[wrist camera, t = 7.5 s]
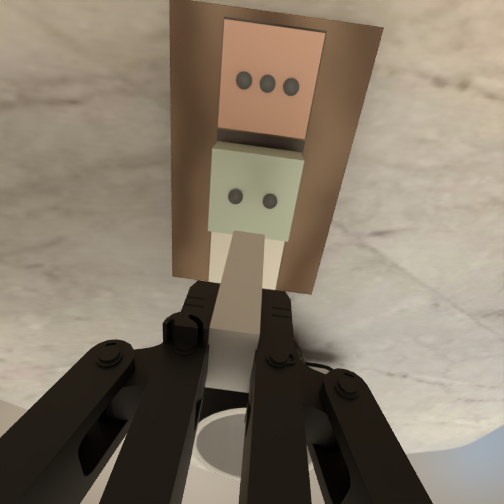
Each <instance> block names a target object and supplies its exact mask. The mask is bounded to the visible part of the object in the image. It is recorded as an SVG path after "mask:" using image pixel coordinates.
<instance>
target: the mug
mask: <svg viewBox="0 0 504 504" xmlns="http://www.w3.org/2000/svg"><path fill="white" fill-rule="evenodd" d="M294 349H295V353H296V354H297V356H298V358H299V359H300V360H301V361H302V362H303V363H304V364H305V365H307V366H308V367H310V368H312V369H314V370H317V371H319V372H321V373H324V374H327V373H328V372H329V371H330V370H333V369H332V368H330V367H329V366H326V365H321V364H316V363H309V362H305V361H304V359H303V356H302V353H301V351H300V349H299V347H298V346H297V344H296V342H295V340H294ZM248 398H249V393H246V392H238V391H231V390H223V389H216V388H208V387H204V392H203V403H202V408H201V412H200V417H199V422H198V427H197V431H196V436H195V441H194V446H193V450H192V453H193V455H194V456H195V458H196V459H197V460H198V461H199V462H200V463H201V464H203V465H204V466H205V467H206V468H208V469H209V470H211V471H213V472H215V473H217V474H219V475H221V476H225V477H227V478H230V479H234V480H238V481H241V470H242V457H243V445H244V433H245V423H244V419H245V414H246V409H247V404H248ZM307 455H308V467H309V471H310V470H312V469H313V468H314V467H313V463H312V460H311V457H310V454H309V451H308V447H307Z"/></svg>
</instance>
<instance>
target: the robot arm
mask: <svg viewBox="0 0 504 504" xmlns="http://www.w3.org/2000/svg"><path fill="white" fill-rule="evenodd" d="M264 243H265V235H264V234H257V233H250V232H242V231H235V230H234V232H233V236H232V240H231V244H230V248H229V252H228V256H227V260H226V264H225V268H224V272H223V276H222V280H221V283H214V282H207V281H199V280H198V281H197V282H196V283H195V284H193V285H192V286H191V287H190V289H189V292H188V294H187V298H186V299H185V302H184V305H183V307H182V310H181V312H178V313H174V314H172V315H171V316H169V317H167V318H166V320H165V321H164V322H163V343H162V344H159V345H157V346H154V347H150V348H144V349H136V350H134V349H133V348H132V346H131V344H129V343H127V342H125V341H122V340H116V339H115V340H107V341H104V342H102V343H99V344H97V345H96V346H94V347H93V348H91V349H90V350H89V351H88V352H87V353H86V354H85V355H84V356H83V357H82V358H81V359H80V360H79V361H78V362H77V363H76V364H75V365H74V366H73V367H72V368H71V369H70V370H69V371H68V372H67V373H66V374H65V375H64V376H63V377H62V378H60V379H59V380H58V381H57V382H56V383H55V384H54V385H53V386H52V387H51V388H50V389H49V390H48V391H47V392H46V393H45V394H44V395H43V396H42V397H41V398H40V399H39V400H38V401H37V402H36V403H35V404H34V405H33V406H32V407H31V408H30V409H29V410H28V411H27V412H26V413H25V414H24V415H23V416H22V417H21V418H20V419H19V420H18V421H17V422H16V423H15V424H14V425H13V426H12V427H11V428H10V429H9V430H8V431H7V432H6V433H5V434H4V435H3V436H2V437H1V438H0V504H80V503H81V501H82V500H83V498H84V497H85V495H86V494H87V492H88V491H89V489H90V488H91V486H92V485H93V483H94V482H95V480H96V479H97V477H98V476H99V474H100V473H101V471H102V470H103V468H104V467H105V465H106V464H107V462H108V461H109V459H110V458H111V456H112V455H113V453H114V452H115V450H116V449H117V447H118V446H119V444H120V443H121V441H122V440H123V438H124V437H125V435H126V434H127V435H126V438H125V440H124V443H123V445H122V448H121V450H120V453H119V455H118V457H117V460H116V463H115V465H114V468H113V470H112V473H111V475H110V477H109V480H108V482H107V485H106V487H105V490H104V492H103V495H102V498H101V500H100V502H99V504H181V503H182V498H183V493H184V488H185V484H186V478H187V474H188V469H189V465H190V460H191V455H192V450H193V446H194V441H195V436H196V431H197V427H198V422H199V417H200V412H201V408H202V403H203V392H204V387H208V388H216V389H223V390H231V391H238V392H246V393H249V398H248V404H247V409H246V414H245V419H244V423H245V433H244V445H243V457H242V470H241V483H240V495H239V504H312V502H311V490H310V479H309V467H308V455H307V447H308V451H309V454H310V457H311V460H312V463H313V467H314V470H315V473H316V476H317V480H318V483H319V486H320V489H321V492H322V496H323V499H324V502H325V504H433V503H432V501H431V499H430V498H429V496H428V494H427V492H426V490H425V489H424V487H423V485H422V483H421V481H420V480H419V478H418V476H417V474H416V472H415V470H414V469H413V467H412V465H411V463H410V461H409V460H408V458H407V456H406V454H405V452H404V451H403V449H402V447H401V445H400V443H399V442H398V440H397V438H396V436H395V434H394V432H393V431H392V429H391V427H390V425H389V423H388V422H387V420H386V418H385V416H384V414H383V413H382V411H381V409H380V407H379V405H378V404H377V402H376V400H375V398H374V396H373V395H372V393H371V391H370V389H369V387H368V386H367V384H366V383H365V382H364V380H363V379H362V378H361V377H359V376H358V375H357V374H355V373H354V372H351V371H349V370H346V369H338V368H337V369H333V370H330V371H329V372H328V373H327V374H324V373H321V372H319V371H317V370H314V369H312V368H310V367H308V366H307V365H305V364H304V363H303V362H302V361H301V360H300V359H299V358H298V356H297V354H296V353H295V349H294V339H293V325H292V312H291V300H290V298H289V297H288V295H287V294H286V292H285V291H279V290H271V289H264V288H262V281H263V262H264ZM127 432H128V433H127Z"/></svg>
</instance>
